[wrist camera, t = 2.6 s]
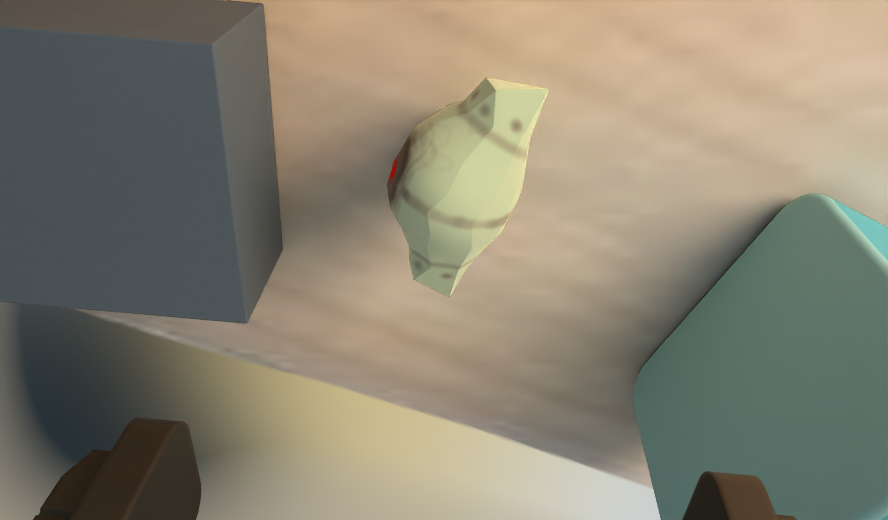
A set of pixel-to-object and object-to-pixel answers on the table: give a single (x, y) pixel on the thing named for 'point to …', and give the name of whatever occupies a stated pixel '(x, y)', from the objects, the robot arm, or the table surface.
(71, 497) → the robot arm
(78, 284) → the square block
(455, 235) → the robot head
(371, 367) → the table surface
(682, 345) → the teal rounded slab
